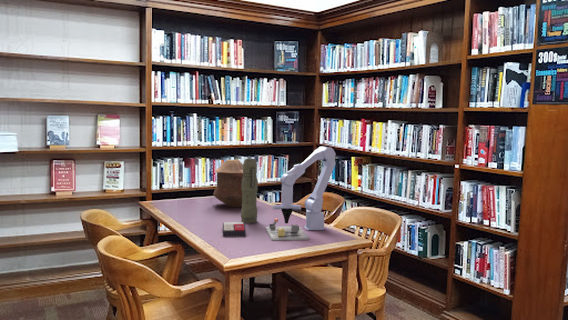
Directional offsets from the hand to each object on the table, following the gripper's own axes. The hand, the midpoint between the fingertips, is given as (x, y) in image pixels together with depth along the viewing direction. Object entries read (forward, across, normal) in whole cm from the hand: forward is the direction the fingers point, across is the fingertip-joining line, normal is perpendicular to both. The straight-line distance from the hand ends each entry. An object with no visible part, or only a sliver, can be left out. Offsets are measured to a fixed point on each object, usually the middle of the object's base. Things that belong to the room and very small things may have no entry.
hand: (286, 223), depth 238 cm
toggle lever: (+2, -7, 0) cm, 8 cm away
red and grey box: (+5, -27, -2) cm, 28 cm away
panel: (+4, -1, -7) cm, 8 cm away
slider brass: (+2, -5, -15) cm, 16 cm away
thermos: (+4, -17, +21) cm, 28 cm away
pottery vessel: (+4, -23, +65) cm, 69 cm away
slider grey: (+2, +3, -8) cm, 9 cm away
